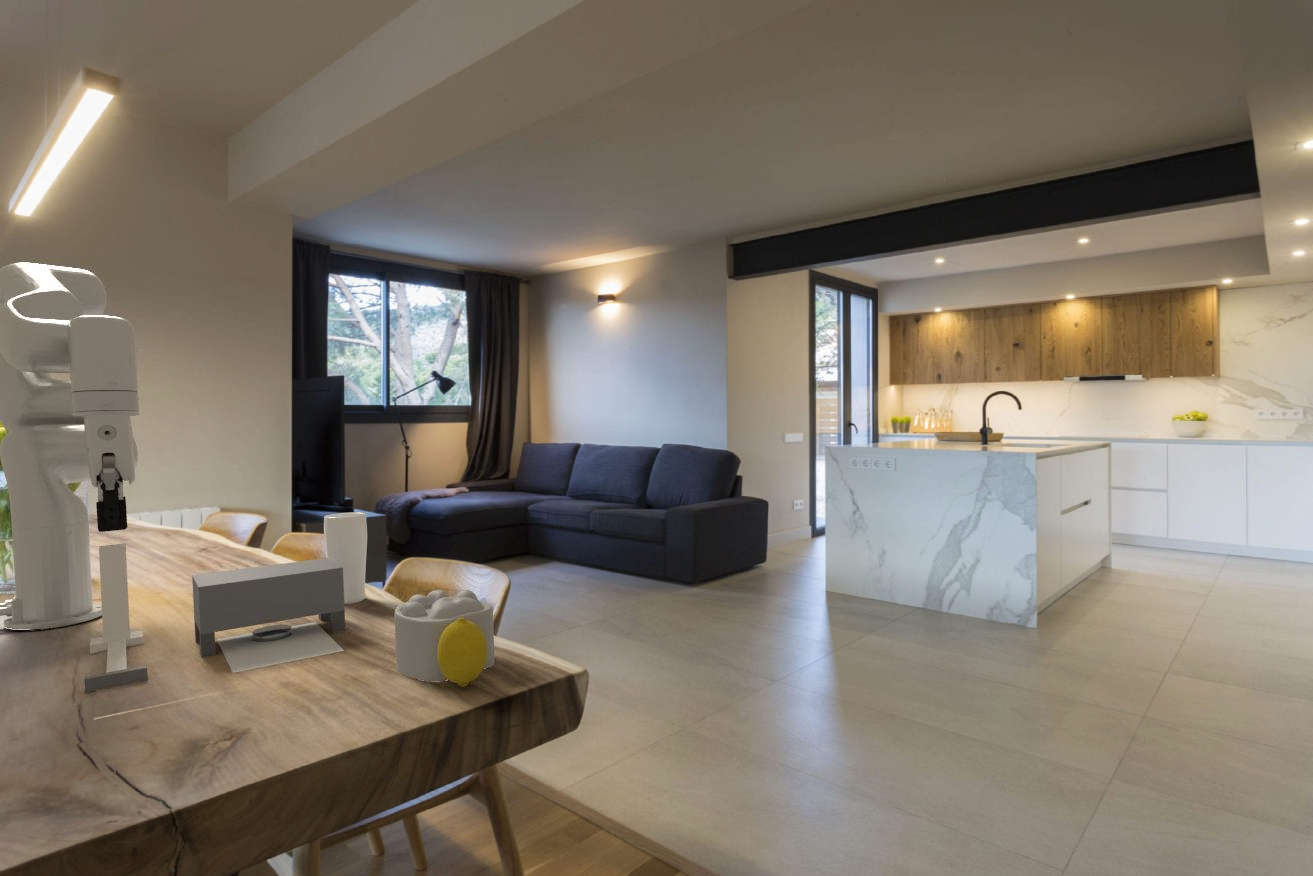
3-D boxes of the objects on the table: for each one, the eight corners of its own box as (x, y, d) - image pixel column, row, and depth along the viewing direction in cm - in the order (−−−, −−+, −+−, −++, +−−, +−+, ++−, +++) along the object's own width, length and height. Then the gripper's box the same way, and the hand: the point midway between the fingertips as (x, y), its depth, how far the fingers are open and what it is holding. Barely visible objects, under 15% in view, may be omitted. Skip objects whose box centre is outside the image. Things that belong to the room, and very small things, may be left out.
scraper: (85, 693, 85) (78, 571, 85) (91, 646, 103) (86, 546, 103) (147, 680, 89) (142, 564, 88) (142, 638, 107) (138, 541, 106)
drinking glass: (326, 600, 127) (323, 514, 127) (368, 595, 130) (365, 511, 130) (327, 608, 121) (323, 518, 121) (371, 603, 124) (367, 515, 124)
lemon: (492, 677, 87) (490, 610, 86) (482, 695, 81) (480, 623, 81) (445, 679, 86) (442, 612, 86) (432, 697, 81) (430, 625, 81)
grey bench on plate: (201, 658, 97) (198, 587, 96) (195, 641, 105) (192, 575, 105) (345, 631, 107) (342, 567, 107) (329, 617, 115) (327, 557, 115)
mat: (232, 674, 90) (232, 672, 90) (217, 640, 105) (216, 639, 105) (344, 652, 98) (344, 650, 98) (315, 623, 112) (315, 622, 112)
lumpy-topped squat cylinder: (431, 687, 84) (428, 612, 84) (377, 663, 93) (374, 596, 93) (505, 663, 92) (503, 594, 92) (449, 643, 101) (447, 581, 100)
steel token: (255, 644, 102) (254, 637, 102) (250, 636, 106) (249, 629, 106) (294, 637, 105) (294, 630, 105) (288, 629, 109) (288, 622, 109)
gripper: (140, 401, 98) (147, 529, 98) (137, 408, 112) (144, 519, 112) (68, 402, 93) (76, 536, 93) (75, 409, 107) (81, 525, 107)
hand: (113, 527), depth 103 cm, fingers open, 9 cm apart
